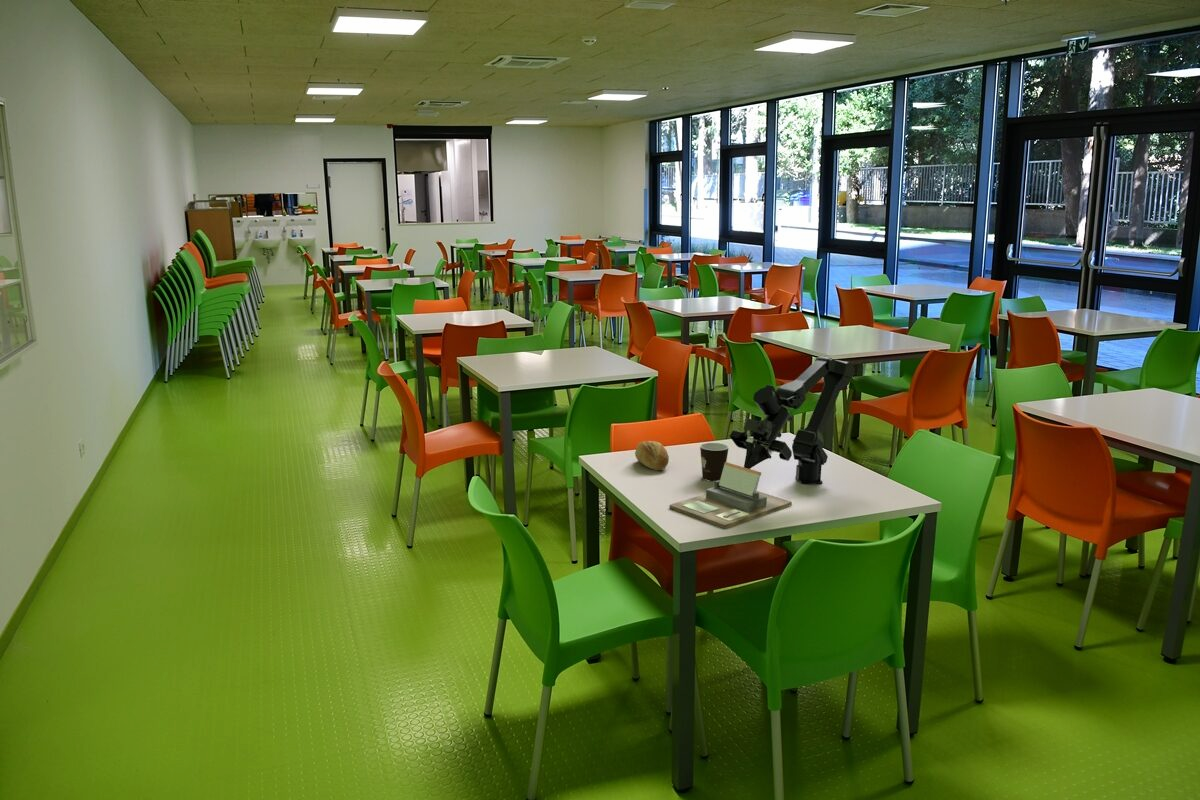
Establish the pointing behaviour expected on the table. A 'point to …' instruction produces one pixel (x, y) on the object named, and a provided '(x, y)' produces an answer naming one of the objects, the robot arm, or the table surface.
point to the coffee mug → (713, 460)
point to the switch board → (729, 506)
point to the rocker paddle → (739, 479)
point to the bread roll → (652, 455)
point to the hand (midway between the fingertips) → (745, 469)
